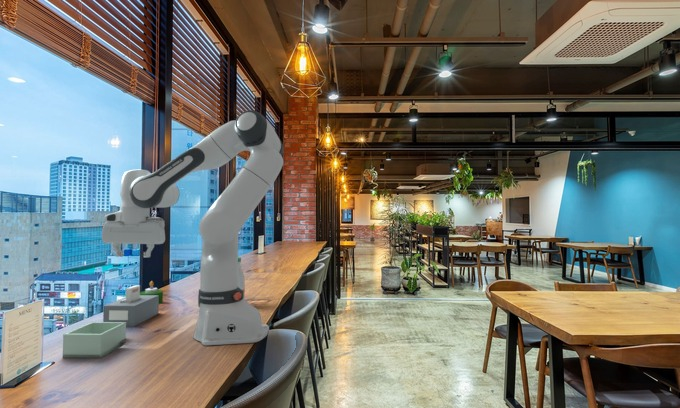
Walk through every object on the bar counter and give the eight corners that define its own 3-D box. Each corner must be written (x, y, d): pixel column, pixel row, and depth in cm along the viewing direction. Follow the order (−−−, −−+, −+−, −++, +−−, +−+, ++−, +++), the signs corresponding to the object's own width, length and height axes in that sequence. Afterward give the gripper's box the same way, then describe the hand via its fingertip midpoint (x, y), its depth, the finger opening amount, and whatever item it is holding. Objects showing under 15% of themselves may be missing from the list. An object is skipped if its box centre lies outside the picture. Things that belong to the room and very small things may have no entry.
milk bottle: (246, 304, 139) (247, 256, 139) (241, 310, 131) (242, 258, 132) (227, 304, 138) (228, 256, 139) (221, 310, 131) (222, 258, 131)
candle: (166, 304, 139) (167, 280, 139) (146, 309, 132) (146, 283, 132) (155, 301, 143) (156, 278, 143) (135, 306, 136) (135, 281, 136)
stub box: (125, 343, 97) (126, 322, 97) (100, 358, 87) (101, 334, 87) (91, 342, 97) (92, 322, 97) (62, 357, 87) (63, 334, 87)
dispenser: (158, 317, 121) (158, 293, 121) (133, 331, 107) (134, 304, 107) (130, 317, 121) (131, 293, 122) (102, 331, 107) (103, 303, 107)
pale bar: (139, 317, 117) (139, 285, 117) (130, 321, 112) (130, 288, 112) (134, 317, 117) (135, 285, 117) (125, 321, 112) (125, 288, 112)
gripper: (169, 217, 118) (168, 256, 118) (112, 216, 119) (110, 255, 118) (159, 217, 112) (158, 258, 112) (99, 216, 112) (97, 257, 112)
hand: (133, 257), depth 115 cm, fingers open, 8 cm apart
